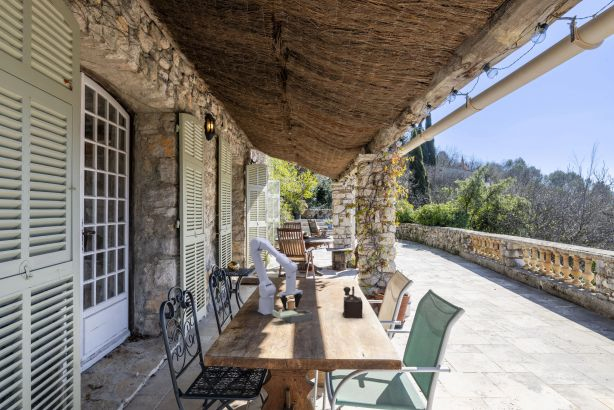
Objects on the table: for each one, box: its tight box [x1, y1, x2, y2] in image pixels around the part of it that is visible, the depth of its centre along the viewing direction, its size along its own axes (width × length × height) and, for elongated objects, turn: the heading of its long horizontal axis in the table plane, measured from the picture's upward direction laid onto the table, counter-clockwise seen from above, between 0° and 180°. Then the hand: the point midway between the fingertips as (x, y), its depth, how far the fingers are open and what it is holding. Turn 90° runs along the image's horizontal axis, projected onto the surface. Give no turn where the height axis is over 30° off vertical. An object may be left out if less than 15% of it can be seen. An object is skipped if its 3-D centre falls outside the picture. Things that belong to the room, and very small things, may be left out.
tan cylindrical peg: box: [287, 300, 295, 311], centre depth 200 cm, size 4×4×7 cm
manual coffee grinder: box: [342, 286, 364, 319], centre depth 199 cm, size 16×11×18 cm
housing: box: [280, 307, 314, 324], centre depth 196 cm, size 16×14×4 cm
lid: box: [272, 309, 298, 319], centre depth 188 cm, size 7×12×3 cm, turn 124°
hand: (290, 308), depth 200 cm, fingers open, 7 cm apart
